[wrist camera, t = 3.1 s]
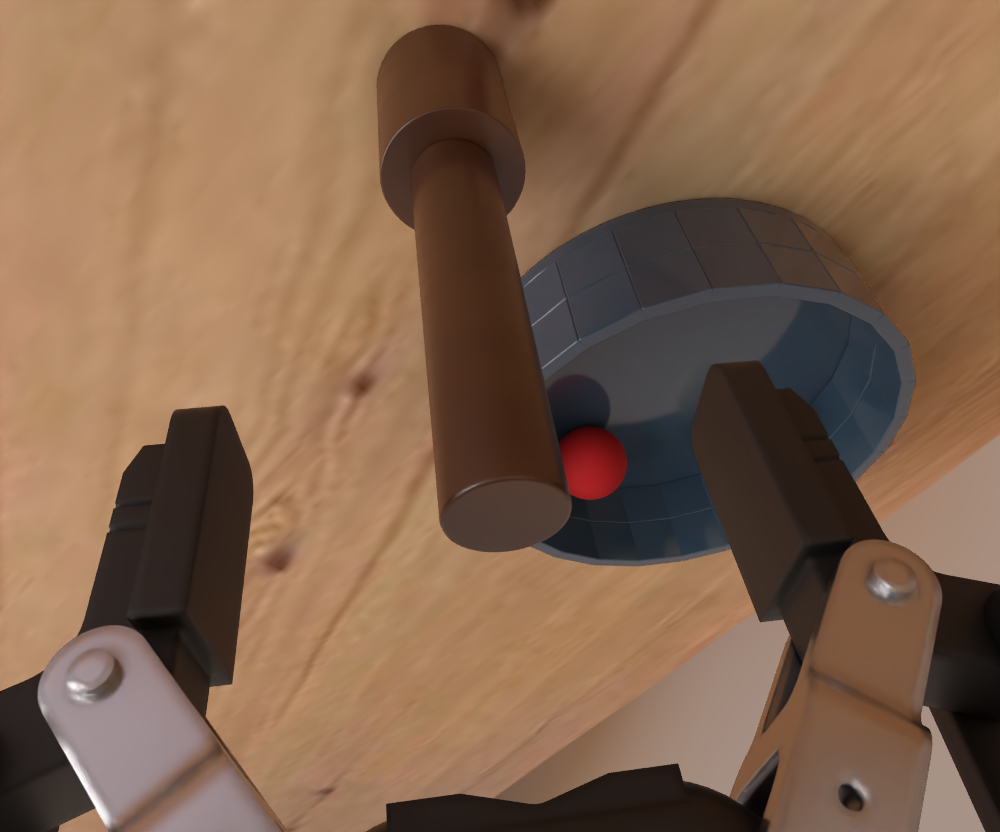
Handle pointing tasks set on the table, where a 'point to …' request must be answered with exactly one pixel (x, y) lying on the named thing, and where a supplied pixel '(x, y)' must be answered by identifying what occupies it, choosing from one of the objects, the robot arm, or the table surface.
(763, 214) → the bowl
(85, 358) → the table surface
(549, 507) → the brown stepped wooden peg
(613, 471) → the red ball
